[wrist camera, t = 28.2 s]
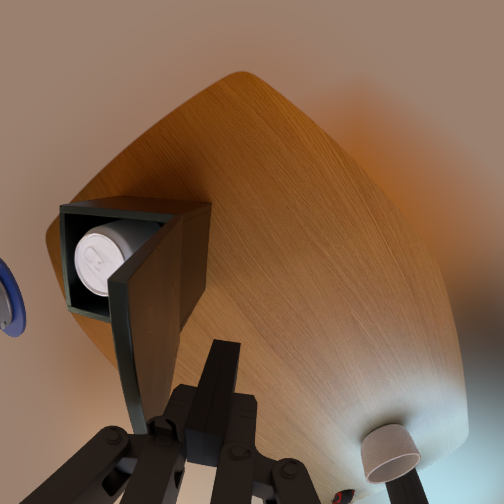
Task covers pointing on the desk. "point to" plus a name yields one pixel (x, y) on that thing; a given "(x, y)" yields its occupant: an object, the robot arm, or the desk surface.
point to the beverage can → (109, 250)
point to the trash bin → (151, 209)
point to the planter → (388, 454)
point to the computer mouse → (343, 497)
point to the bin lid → (148, 322)
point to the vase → (406, 489)
